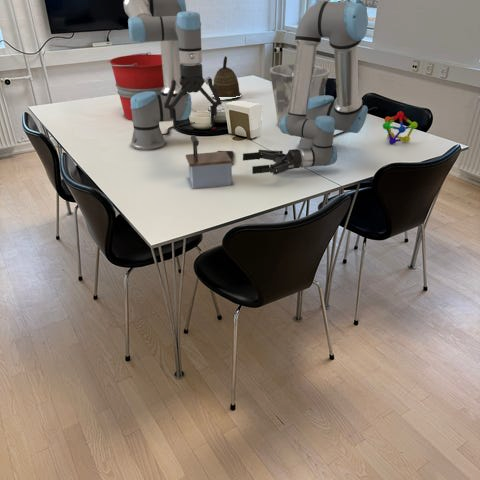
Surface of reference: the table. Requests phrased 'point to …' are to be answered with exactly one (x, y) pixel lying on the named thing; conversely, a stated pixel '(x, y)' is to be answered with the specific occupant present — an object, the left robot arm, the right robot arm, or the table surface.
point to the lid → (206, 156)
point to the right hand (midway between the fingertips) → (247, 163)
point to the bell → (226, 82)
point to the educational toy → (398, 128)
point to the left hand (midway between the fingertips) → (194, 126)
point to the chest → (210, 175)
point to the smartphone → (229, 154)
